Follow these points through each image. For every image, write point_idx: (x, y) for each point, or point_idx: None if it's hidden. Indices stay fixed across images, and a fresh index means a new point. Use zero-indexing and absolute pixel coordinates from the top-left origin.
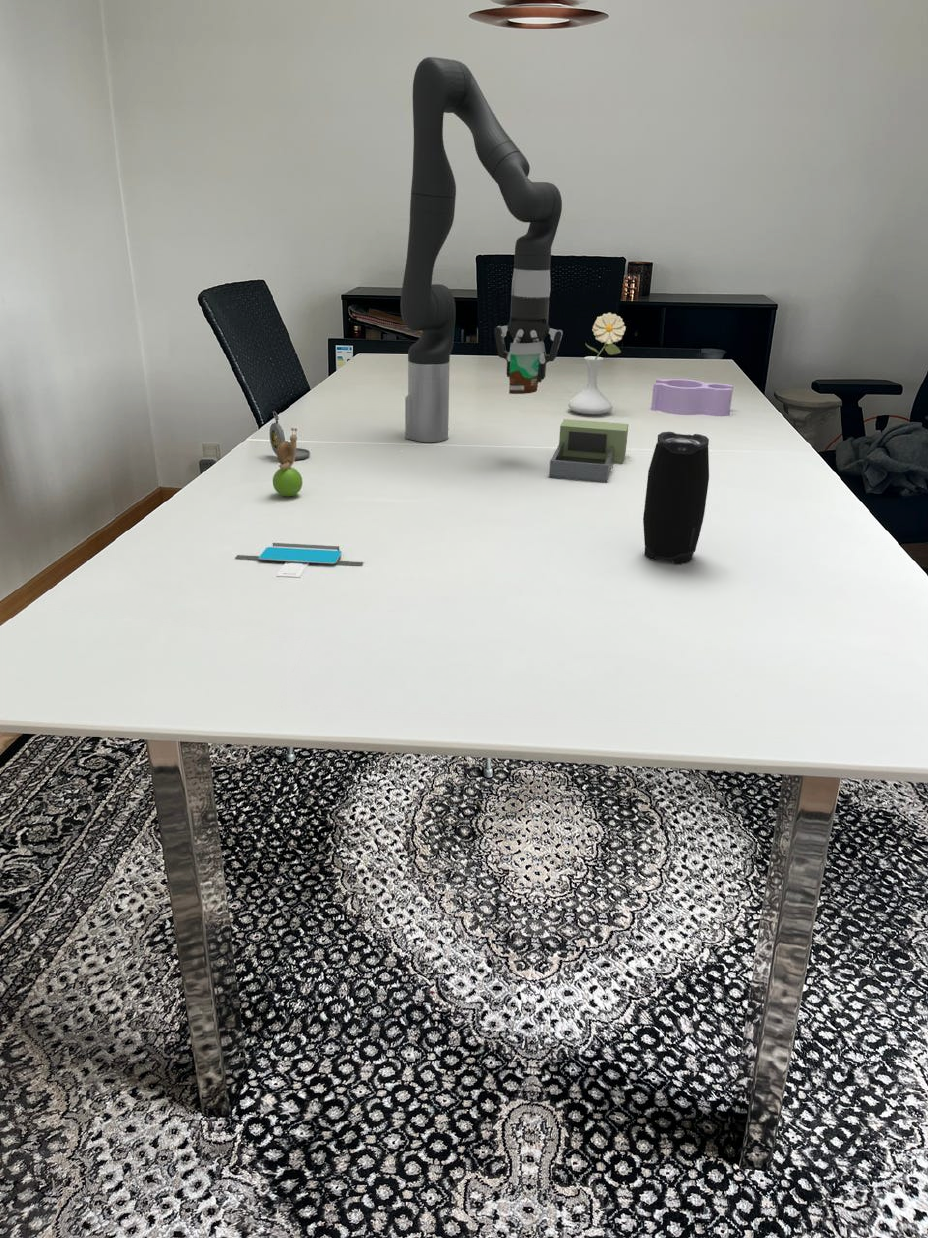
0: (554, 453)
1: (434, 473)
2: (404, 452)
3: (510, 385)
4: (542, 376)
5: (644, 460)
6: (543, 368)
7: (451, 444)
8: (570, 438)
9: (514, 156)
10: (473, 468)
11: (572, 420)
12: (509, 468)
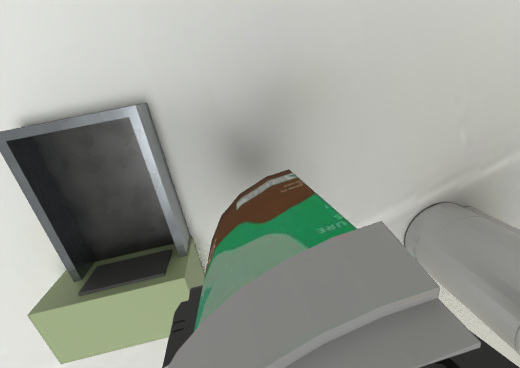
0: (156, 169)
1: (372, 12)
2: (457, 130)
3: (292, 177)
4: (183, 311)
5: None
6: (174, 347)
7: (390, 218)
8: (163, 264)
9: None
10: (310, 91)
11: None
12: (246, 127)
